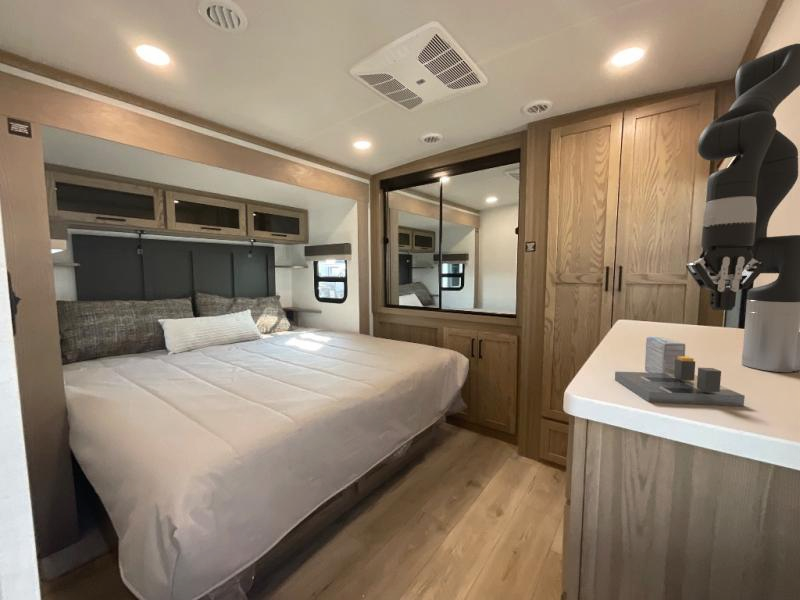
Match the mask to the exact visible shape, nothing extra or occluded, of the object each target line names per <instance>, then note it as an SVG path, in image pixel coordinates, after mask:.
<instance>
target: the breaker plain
mask: <svg viewBox="0 0 800 600" xmlns="http://www.w3.org/2000/svg"><path fill="white" fill-rule="evenodd" d="M697 376H698V377H697V388H698V389H700V390H703V391H706V392H720V386H721V379H722V378H721V377H722V370H719V369H716V368H715V367H697Z"/></svg>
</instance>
